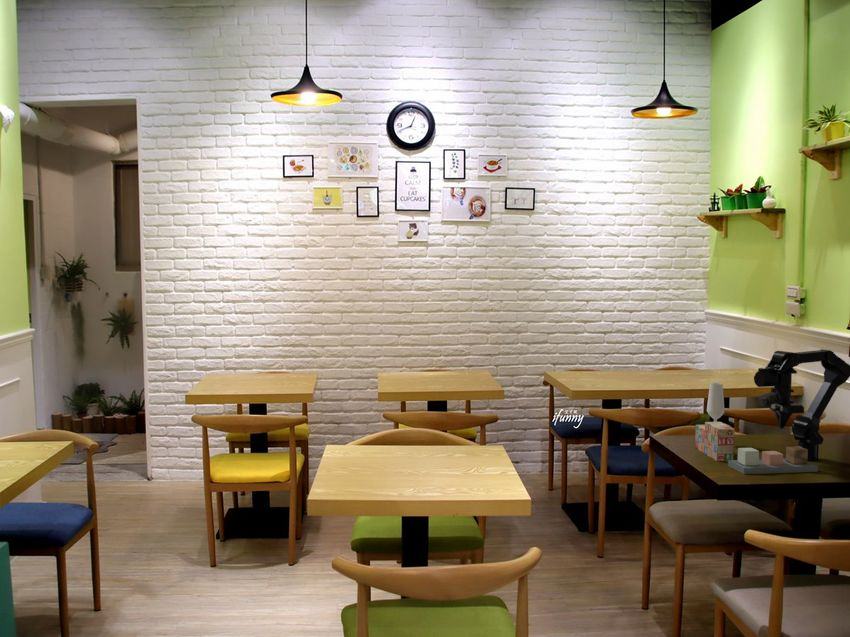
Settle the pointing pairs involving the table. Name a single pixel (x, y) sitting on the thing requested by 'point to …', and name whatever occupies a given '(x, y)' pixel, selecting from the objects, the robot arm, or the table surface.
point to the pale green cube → (748, 456)
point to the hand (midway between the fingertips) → (781, 428)
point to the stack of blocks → (715, 440)
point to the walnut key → (796, 455)
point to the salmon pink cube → (772, 458)
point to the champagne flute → (715, 401)
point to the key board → (772, 467)
